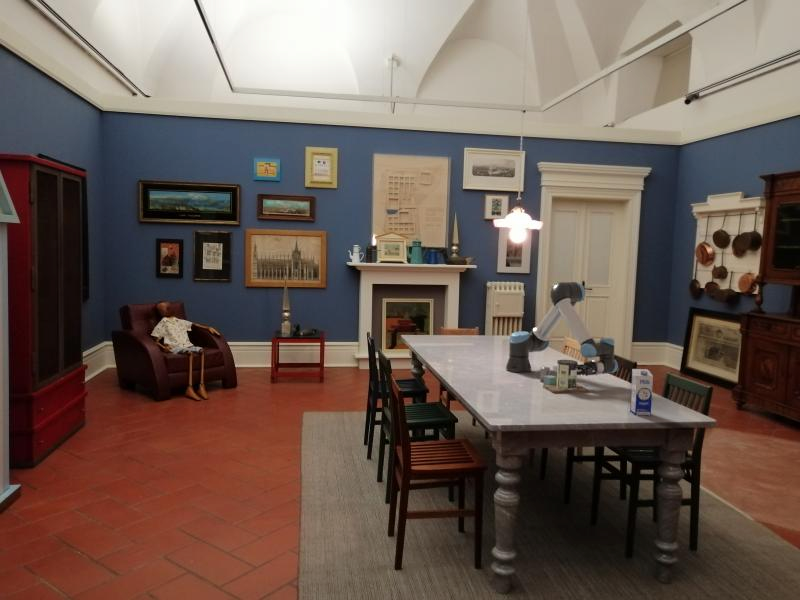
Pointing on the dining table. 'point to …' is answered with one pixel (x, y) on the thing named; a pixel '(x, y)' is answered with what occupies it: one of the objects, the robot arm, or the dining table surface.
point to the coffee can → (566, 374)
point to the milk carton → (641, 392)
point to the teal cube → (550, 380)
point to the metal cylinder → (544, 373)
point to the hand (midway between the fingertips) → (562, 370)
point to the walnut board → (556, 390)
